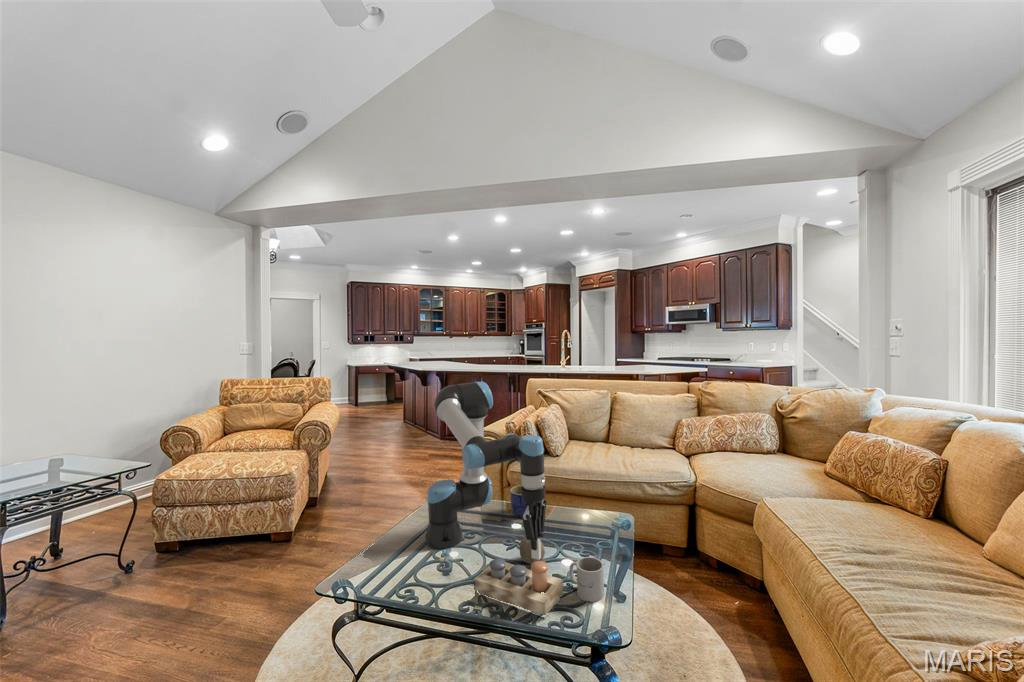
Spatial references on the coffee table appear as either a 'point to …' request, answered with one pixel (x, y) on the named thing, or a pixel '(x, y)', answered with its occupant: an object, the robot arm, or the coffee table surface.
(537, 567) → the terracotta plug
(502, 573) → the slate plug
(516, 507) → the planter
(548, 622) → the coffee table surface
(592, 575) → the mug
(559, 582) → the block
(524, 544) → the decorative stone
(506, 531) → the coffee table surface
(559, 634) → the coffee table surface
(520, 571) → the slate plug
